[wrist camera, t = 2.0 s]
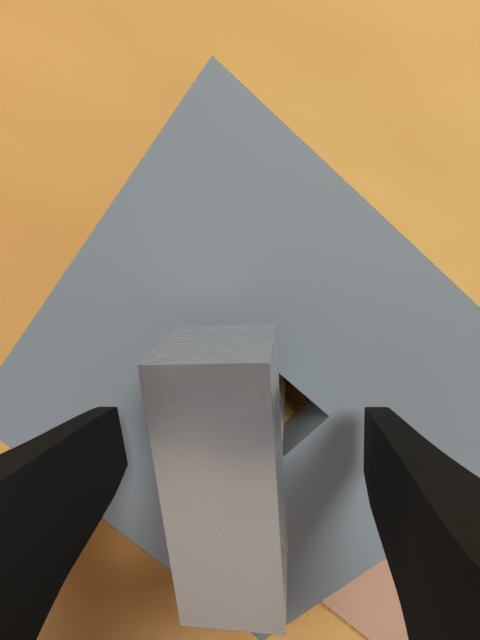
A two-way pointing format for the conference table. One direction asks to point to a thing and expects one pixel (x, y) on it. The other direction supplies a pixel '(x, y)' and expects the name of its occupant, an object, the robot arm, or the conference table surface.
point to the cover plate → (255, 308)
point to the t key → (221, 472)
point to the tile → (371, 605)
